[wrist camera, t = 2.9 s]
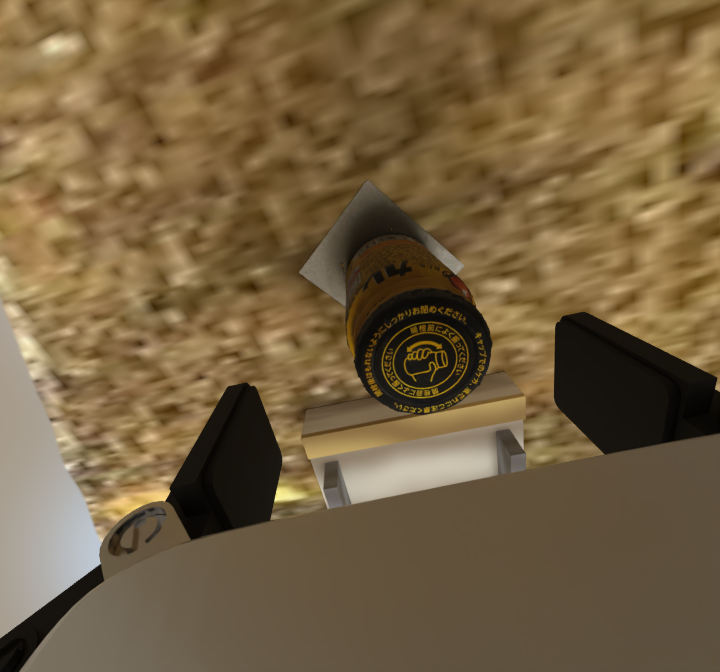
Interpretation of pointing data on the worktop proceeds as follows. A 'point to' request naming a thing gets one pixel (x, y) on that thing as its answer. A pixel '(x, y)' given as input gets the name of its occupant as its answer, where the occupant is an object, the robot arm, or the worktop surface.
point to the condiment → (402, 307)
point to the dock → (415, 444)
